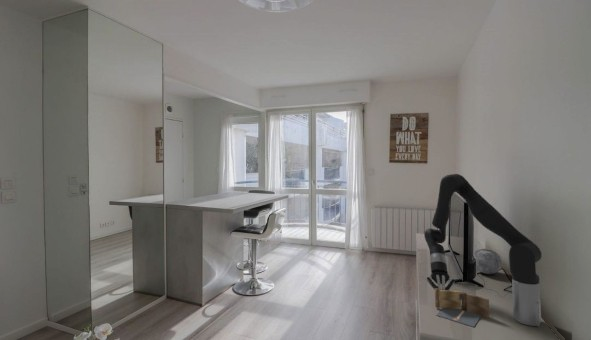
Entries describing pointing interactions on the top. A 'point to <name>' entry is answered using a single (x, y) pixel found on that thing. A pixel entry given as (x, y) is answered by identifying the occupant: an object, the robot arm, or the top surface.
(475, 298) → the fence fixed
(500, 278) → the top surface
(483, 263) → the decorative orb
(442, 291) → the fence gate
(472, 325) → the board
